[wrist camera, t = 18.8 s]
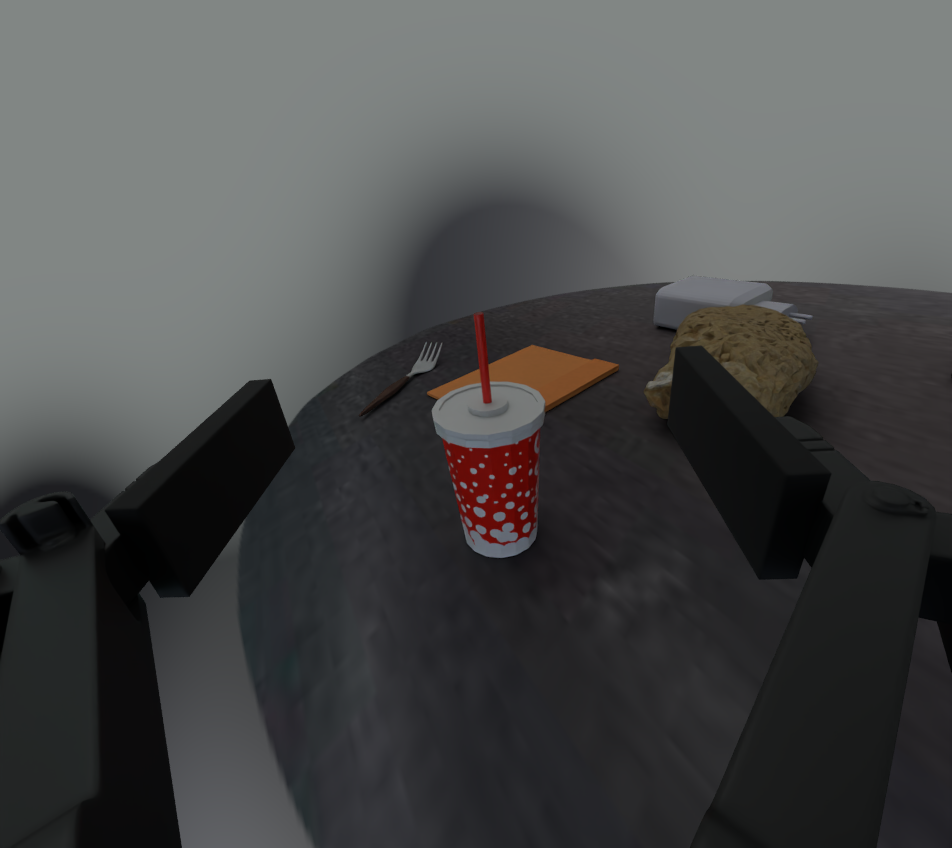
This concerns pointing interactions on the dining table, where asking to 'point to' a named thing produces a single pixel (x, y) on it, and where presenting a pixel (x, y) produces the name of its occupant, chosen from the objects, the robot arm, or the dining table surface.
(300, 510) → the dining table surface
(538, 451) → the beverage cup
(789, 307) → the charger
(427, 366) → the fork
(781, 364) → the sponge
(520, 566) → the dining table surface
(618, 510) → the dining table surface
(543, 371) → the cloth
